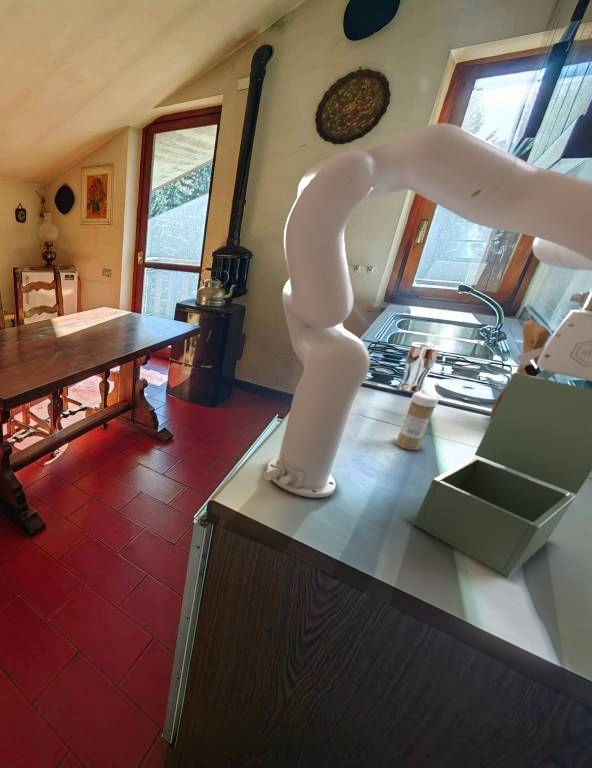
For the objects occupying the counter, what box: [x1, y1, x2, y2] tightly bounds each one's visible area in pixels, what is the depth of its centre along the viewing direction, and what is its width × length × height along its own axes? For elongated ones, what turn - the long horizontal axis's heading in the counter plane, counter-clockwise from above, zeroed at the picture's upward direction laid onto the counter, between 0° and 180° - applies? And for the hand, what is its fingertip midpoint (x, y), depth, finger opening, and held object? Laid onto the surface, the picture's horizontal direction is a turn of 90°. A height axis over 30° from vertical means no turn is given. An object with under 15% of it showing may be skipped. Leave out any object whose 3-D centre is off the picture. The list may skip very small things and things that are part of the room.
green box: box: [412, 456, 576, 578], centre depth 66 cm, size 16×13×10 cm
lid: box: [474, 371, 592, 495], centre depth 65 cm, size 16×13×5 cm
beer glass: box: [397, 342, 440, 394], centre depth 124 cm, size 7×7×15 cm
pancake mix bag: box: [489, 318, 552, 423], centre depth 99 cm, size 7×19×28 cm, turn 135°
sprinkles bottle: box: [395, 391, 440, 451], centre depth 92 cm, size 5×5×14 cm
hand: (563, 412), depth 65 cm, fingers open, 6 cm apart
